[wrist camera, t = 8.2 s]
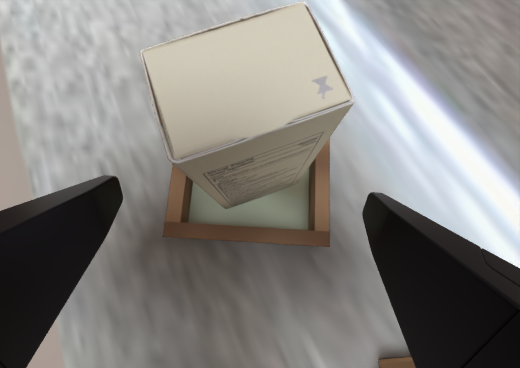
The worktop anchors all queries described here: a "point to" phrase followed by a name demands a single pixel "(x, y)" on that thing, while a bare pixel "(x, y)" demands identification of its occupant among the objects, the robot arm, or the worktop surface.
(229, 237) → the tray
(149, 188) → the worktop surface
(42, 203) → the robot arm
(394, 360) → the shallow wooden box
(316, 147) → the skincare box
